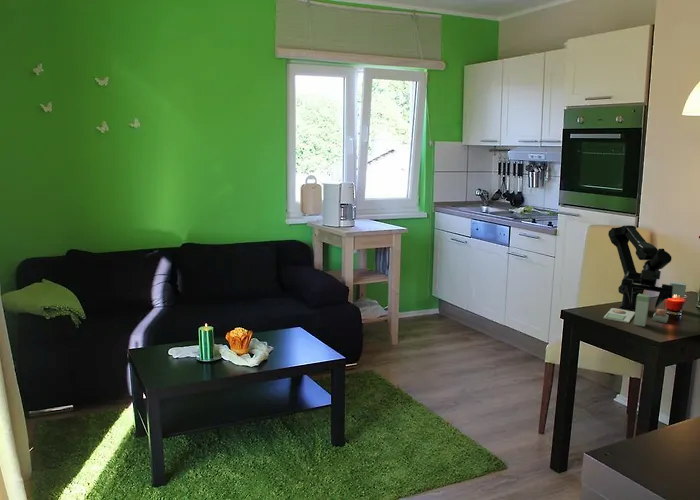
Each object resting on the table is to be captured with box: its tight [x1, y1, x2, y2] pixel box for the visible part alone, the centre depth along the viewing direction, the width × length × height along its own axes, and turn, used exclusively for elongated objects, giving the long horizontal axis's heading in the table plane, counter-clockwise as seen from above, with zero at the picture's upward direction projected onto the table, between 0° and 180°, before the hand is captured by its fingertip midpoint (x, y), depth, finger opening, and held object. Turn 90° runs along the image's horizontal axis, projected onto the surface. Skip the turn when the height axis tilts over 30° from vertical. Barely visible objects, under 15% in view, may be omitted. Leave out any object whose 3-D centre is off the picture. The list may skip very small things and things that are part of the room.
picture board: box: [602, 307, 635, 324], centre depth 257 cm, size 18×10×1 cm, turn 147°
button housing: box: [652, 312, 669, 324], centre depth 253 cm, size 5×5×2 cm
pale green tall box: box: [633, 293, 651, 327], centre depth 245 cm, size 4×4×12 cm
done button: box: [655, 308, 667, 316], centre depth 253 cm, size 4×4×2 cm
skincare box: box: [669, 281, 687, 298], centre depth 269 cm, size 6×4×12 cm
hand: (642, 305), depth 245 cm, fingers open, 9 cm apart
